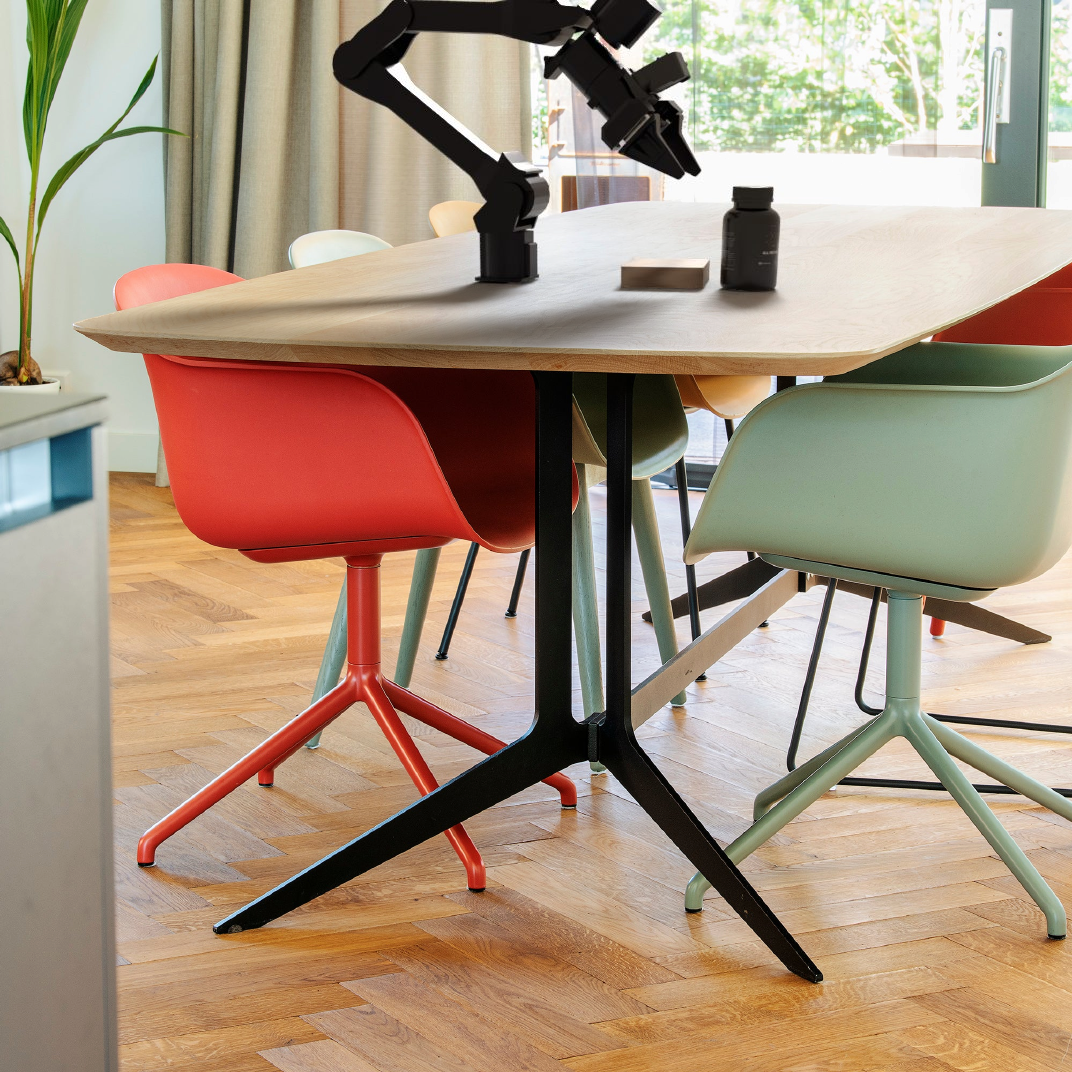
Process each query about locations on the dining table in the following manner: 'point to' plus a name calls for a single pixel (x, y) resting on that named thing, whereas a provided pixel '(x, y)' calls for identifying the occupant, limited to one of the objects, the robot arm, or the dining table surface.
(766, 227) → the supplement bottle
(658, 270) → the tan flat square block
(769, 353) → the dining table surface
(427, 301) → the dining table surface
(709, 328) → the dining table surface
